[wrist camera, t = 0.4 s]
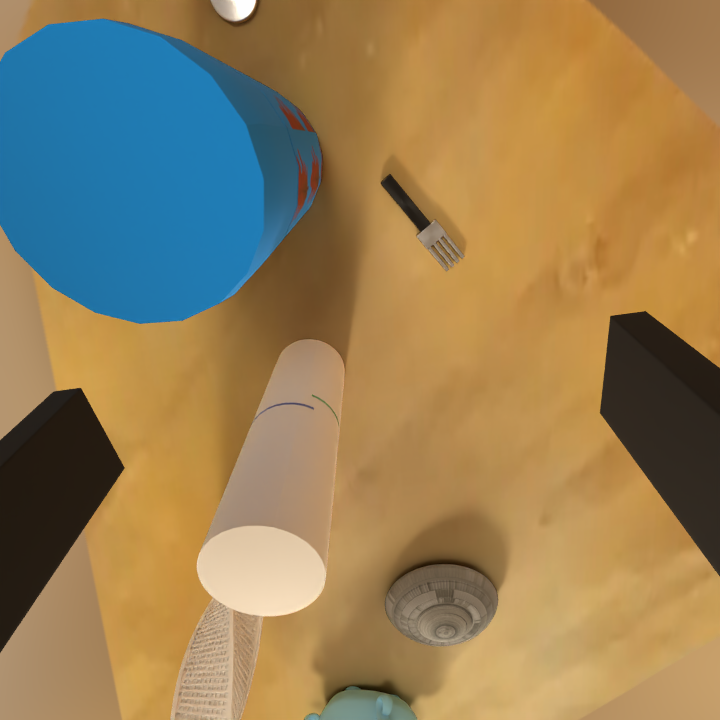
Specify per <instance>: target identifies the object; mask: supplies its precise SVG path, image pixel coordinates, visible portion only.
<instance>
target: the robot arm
mask: <svg viewBox="0 0 720 720" xmlns="http://www.w3.org/2000/svg"><path fill="white" fill-rule="evenodd" d="M600 414H601V415H602V416H603V418H604V419H605V420H606V422H607V423H608V424H609V426H610V427H611V429H612V430H613V431H614V433H615V434H616V435H617V437H618V438H619V439H620V441H621V442H622V444H623V445H624V446H625V448H626V449H627V450H628V452H629V453H630V454H631V456H632V457H633V459H634V460H635V461H636V463H637V464H638V465H639V467H640V468H641V470H642V471H643V472H644V474H645V475H646V476H647V478H648V479H649V480H650V482H651V483H652V485H653V486H654V487H655V489H656V490H657V491H658V493H659V494H660V495H661V497H662V498H663V500H664V501H665V502H666V504H667V505H668V506H669V508H670V509H671V510H672V512H673V513H674V515H675V516H676V517H677V519H678V520H679V521H680V523H681V524H682V526H683V527H684V528H685V530H686V531H687V532H688V534H689V535H690V536H691V538H692V539H693V541H694V542H695V543H696V545H697V546H698V547H699V549H700V550H701V551H702V553H703V554H704V556H705V557H706V558H707V560H708V561H709V562H710V564H711V565H712V566H713V568H714V569H715V571H716V572H717V573H718V575H719V576H720V368H719V367H717V366H716V365H715V364H713V363H712V362H711V361H710V360H708V359H707V358H706V357H704V356H703V355H702V354H700V353H699V352H698V351H697V350H695V349H694V348H693V347H691V346H690V345H689V344H687V343H686V342H685V341H684V340H682V339H681V338H680V337H678V336H677V335H676V334H674V333H673V332H672V331H670V330H669V329H668V328H667V327H665V326H664V325H663V324H661V323H660V322H659V321H657V320H656V319H655V318H654V317H652V316H651V315H650V314H648V313H647V312H646V311H644V312H637V313H629V314H622V315H614V316H610V325H609V335H608V344H607V353H606V362H605V372H604V381H603V390H602V399H601V409H600ZM123 470H124V466H123V464H122V462H121V460H120V459H119V457H118V455H117V453H116V451H115V449H114V448H113V446H112V444H111V442H110V440H109V438H108V437H107V435H106V433H105V431H104V429H103V427H102V426H101V424H100V422H99V420H98V418H97V417H96V415H95V413H94V411H93V409H92V407H91V406H90V404H89V402H88V400H87V398H86V396H85V395H84V393H83V391H82V389H81V388H77V389H69V390H62V391H55V392H53V393H52V394H50V395H49V396H48V397H47V398H46V399H45V400H44V401H43V402H42V403H41V404H39V405H38V406H37V407H36V408H35V409H34V410H33V411H32V412H31V413H30V414H29V415H27V416H26V417H25V418H24V419H23V420H22V421H21V422H20V423H19V424H18V425H17V426H15V427H14V428H13V429H12V430H11V431H10V432H9V433H8V434H7V435H6V436H4V437H3V438H2V439H1V440H0V652H1V651H2V649H3V648H4V646H5V645H6V643H7V642H8V640H9V639H10V637H11V636H12V635H13V633H14V631H15V630H16V628H17V627H18V626H19V624H20V623H21V621H22V619H23V618H24V617H25V615H26V613H27V612H28V611H29V609H30V608H31V606H32V605H33V603H34V602H35V600H36V599H37V597H38V596H39V594H40V593H41V591H42V590H43V588H44V587H45V585H46V584H47V582H48V581H49V580H50V578H51V577H52V575H53V573H54V572H55V571H56V569H57V568H58V566H59V565H60V563H61V562H62V560H63V559H64V557H65V556H66V554H67V553H68V551H69V550H70V548H71V547H72V545H73V544H74V542H75V541H76V539H77V538H78V536H79V535H80V534H81V532H82V530H83V529H84V528H85V526H86V525H87V523H88V522H89V520H90V519H91V517H92V516H93V514H94V513H95V511H96V510H97V508H98V507H99V505H100V504H101V502H102V501H103V499H104V498H105V496H106V495H107V493H108V492H109V490H110V489H111V488H112V486H113V485H114V483H115V482H116V480H117V479H118V477H119V476H120V474H121V473H122V471H123Z"/></svg>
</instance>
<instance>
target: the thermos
mask: <svg viewBox="0 0 720 720" xmlns="http://www.w3.org/2000/svg"><path fill="white" fill-rule="evenodd" d="M322 163H323V156H322V152H321V149H320V145H319V141H318V137H317V134H316V132H315V131H314V129H313V128H312V126H311V125H310V123H309V122H308V120H307V119H306V117H305V116H304V114H303V113H302V112H301V111H300V110H299V109H298V108H297V107H296V106H294V105H293V104H292V103H291V102H289V101H288V100H287V99H285V98H284V97H283V96H282V95H280V94H279V93H278V92H276V91H274V90H272V89H271V88H269V87H267V86H265V85H263V84H261V83H260V82H258V81H256V80H254V79H252V78H250V77H249V76H247V75H245V74H243V73H241V72H239V71H237V70H236V69H234V68H232V67H230V66H228V65H226V64H225V63H223V62H221V61H219V60H217V59H215V58H214V57H212V56H210V55H208V54H206V53H204V52H203V51H201V50H199V49H197V48H195V47H193V46H192V45H190V44H188V43H186V42H184V41H182V40H180V39H176V38H173V37H170V36H167V35H164V34H161V33H157V32H154V31H151V30H148V29H145V28H141V27H138V26H135V25H132V24H129V23H124V22H118V21H113V20H107V19H96V20H87V21H77V22H68V23H58V24H48V25H47V26H45V27H44V28H42V29H41V30H39V31H38V32H36V33H35V34H33V35H32V36H30V37H28V38H27V39H25V40H24V41H22V42H21V43H19V44H18V45H16V46H15V47H13V48H12V49H10V50H9V51H7V52H6V53H5V54H4V56H3V58H2V59H1V61H0V225H1V227H2V229H3V230H4V232H5V234H6V235H7V237H8V239H9V241H10V243H11V244H12V246H13V247H14V249H15V251H16V252H17V253H18V254H19V255H20V256H21V257H22V258H23V259H24V260H25V261H26V262H27V263H28V264H29V265H30V266H31V267H32V268H33V269H34V270H35V271H36V272H37V273H38V274H39V275H40V276H41V277H42V278H43V279H44V280H45V281H46V282H47V283H48V284H49V285H50V286H51V287H52V288H54V289H55V290H57V291H59V292H61V293H62V294H64V295H66V296H67V297H69V298H71V299H73V300H74V301H76V302H78V303H80V304H81V305H83V306H85V307H86V308H88V309H90V310H92V311H93V312H95V313H99V314H103V315H107V316H111V317H115V318H119V319H123V320H127V321H131V322H135V323H139V324H142V323H156V322H170V321H183V320H185V319H187V318H189V317H191V316H193V315H196V314H198V313H200V312H202V311H204V310H206V309H208V308H211V307H213V306H215V305H217V304H219V303H221V302H223V301H224V300H226V299H228V298H229V297H231V296H233V295H234V294H235V293H236V292H237V291H238V290H239V289H240V288H241V287H242V286H243V285H244V283H245V282H246V281H247V280H248V279H249V278H250V277H251V276H252V275H253V274H254V273H255V272H256V271H257V269H258V268H259V267H260V266H261V265H262V264H263V263H264V262H265V260H266V259H267V258H268V257H269V256H270V255H271V253H272V252H273V251H274V250H275V249H276V247H277V246H278V245H279V244H280V243H281V241H282V240H283V239H284V238H285V237H286V236H287V234H288V233H289V232H290V231H291V230H292V228H293V227H294V226H295V225H296V224H297V222H298V221H299V220H300V219H301V218H302V216H303V215H304V214H305V213H306V212H307V211H308V209H309V208H310V207H311V205H312V202H313V200H314V198H315V195H316V193H317V190H318V188H319V185H320V183H321V180H322Z"/></svg>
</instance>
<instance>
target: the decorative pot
mask: <svg viewBox="0 0 720 720" xmlns="http://www.w3.org/2000/svg"><path fill="white" fill-rule="evenodd" d="M304 720H417V717H416V716H415V714H414V712H413V711H412V709H411V708H410V707H409V705H408V704H407V703H406V702H405V701H403V700H401V699H400V698H399V696H397V695H394V694H386V693H382V692H378V691H371V690H361V689H360V688H358V687H355V686H351V687H348V688H346V689H345V691H342V692H339V693H337V694H336V695H334V696H333V697H332V698H331V700H330V701H329V702H328V704H327V705H326V707H325V708H324V710H323V711H322V713H321V715H320V716H319V715H318V714H316V713H311V714H309V715H307V716H306V717H305V719H304Z"/></svg>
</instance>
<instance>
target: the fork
mask: <svg viewBox="0 0 720 720" xmlns="http://www.w3.org/2000/svg"><path fill="white" fill-rule="evenodd" d="M381 184H382V185H383V187H384V188H385V189H386V190H387V192H388V193H389V194H390V195H391V196H392V198H393V199H394V200H395V201H396V202H397V204H398V205H399V206H400V207H401V208H402V210H403V211H404V212H405V213H406V214H407V216H408V217H409V218H410V219H411V221H412V222H413V223H414V224H415V225H416V227H417V228H418V229H419V230H420V231H421V232H420V233H419V234H417V235H416V236H417V238H418V239H419V240H420V241H421V242H422V244H423V245H424V246H425V247H426V248H427V249H428V250H429V251H430V252H431V253H432V255H433V256H434V257H435V258H436V259H437V261H438V262H439V263H440V264H441V265H442V267H443V268H444V269H445V270H446V271H448V270H449V269H448V267H447V266H446V265H445V264H444V262H443V261H442V260H441V259H440V258H439V256H438V255H437V254H436V253H435V252H434V250H433V249H432V248H431V246H432V245H434V246H435V248H436V249H437V250H438V251H439V253H440V254H441V255H442V256H443V257H444V259H445V260H446V261H447V262H448V263H449V265H450V266H451V267H453V266H454V264H453V263H452V262H451V260H450V259H449V258H448V257H447V256H446V254H445V253H444V252H443V251H442V249H441V248H440V247H439V246H438V245H437V243H436V242H437V241H439V242H440V243H441V244H442V245H443V247H444V248H445V249H446V250H447V252H448V253H449V254H450V255H451V256H452V258H453V259H454V260H455V261H456V263H457V262H459V260H458V258H457V257H456V256H455V255H454V253H453V252H452V251H451V250H450V249H449V247H448V246H447V245H446V244H445V242H444V241H443V240H442V239H441V237H443V236H444V237H445V238H446V239H447V241H448V242H449V243H450V244H451V246H452V247H453V248H454V249H455V251H456V252H457V253H458V254H459V256H460V257H461V258H464V257H465V256H464V255H463V254H462V253H461V251H460V250H459V249H458V248H457V246H456V245H455V244H454V243H453V241H452V240H451V239H450V238H449V236H448V235H447V234H446V232H445V231H444V229H443V228H442V227H441V226H440V224H439V223H438V222H437V221H436V219H435V220H433V221H432V222H431V223H430V222H429V221H428V220H427V218H426V217H425V216H424V215H423V214H422V212H421V211H420V210H419V209H418V207H417V206H416V205H415V204H414V202H413V201H412V200H411V199H410V198H409V196H408V195H407V194H406V193H405V191H404V190H403V189H402V188H401V187H400V185H399V184H398V183H397V182H396V180H395V179H394V178H393V177H392V175H391V174H389V175H388V176H387V177H386V178H385V179H384V180H383V181H382V182H381Z"/></svg>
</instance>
